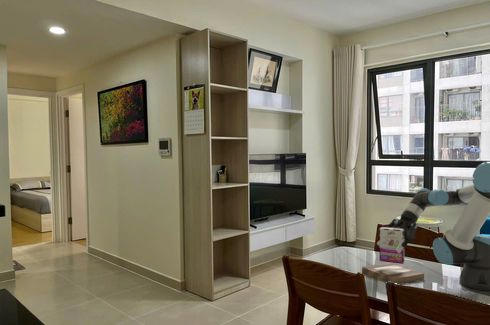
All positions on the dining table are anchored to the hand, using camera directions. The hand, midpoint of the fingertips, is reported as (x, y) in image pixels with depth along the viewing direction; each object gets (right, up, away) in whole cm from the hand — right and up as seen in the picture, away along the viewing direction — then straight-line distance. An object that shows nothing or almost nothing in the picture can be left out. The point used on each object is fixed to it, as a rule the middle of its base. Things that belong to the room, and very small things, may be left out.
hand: (387, 248), depth 178 cm
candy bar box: (+2, -7, +1) cm, 7 cm away
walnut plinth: (+3, -14, +1) cm, 14 cm away
